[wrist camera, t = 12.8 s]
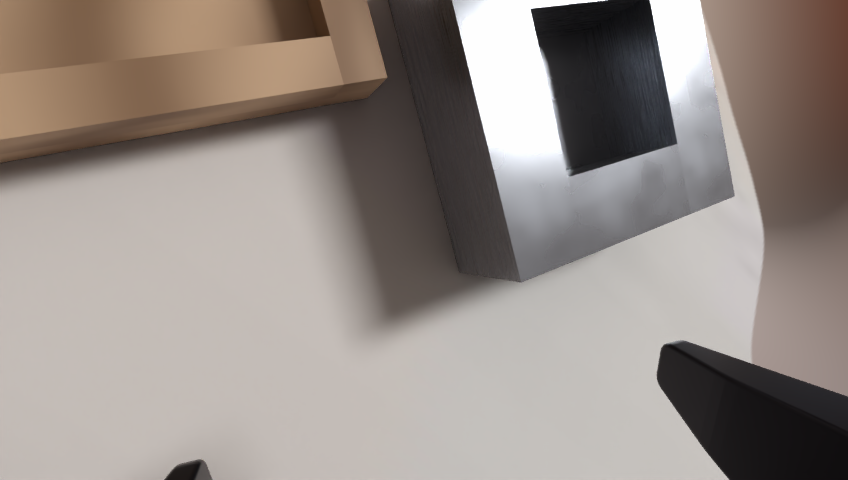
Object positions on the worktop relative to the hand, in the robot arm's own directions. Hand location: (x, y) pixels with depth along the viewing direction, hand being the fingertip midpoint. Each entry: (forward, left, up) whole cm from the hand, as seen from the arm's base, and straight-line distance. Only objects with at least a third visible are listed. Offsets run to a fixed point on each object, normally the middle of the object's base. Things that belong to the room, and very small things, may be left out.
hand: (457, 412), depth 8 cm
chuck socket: (+12, +6, -10) cm, 16 cm away
